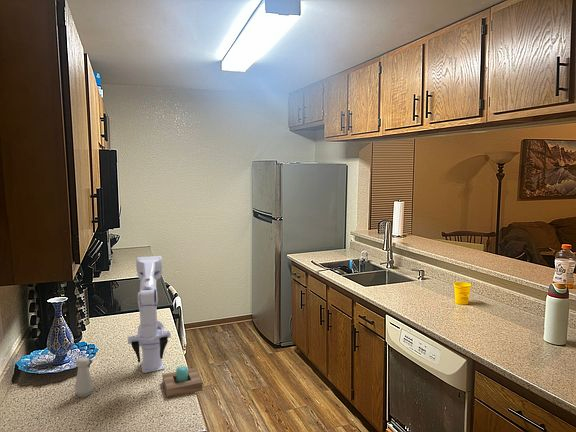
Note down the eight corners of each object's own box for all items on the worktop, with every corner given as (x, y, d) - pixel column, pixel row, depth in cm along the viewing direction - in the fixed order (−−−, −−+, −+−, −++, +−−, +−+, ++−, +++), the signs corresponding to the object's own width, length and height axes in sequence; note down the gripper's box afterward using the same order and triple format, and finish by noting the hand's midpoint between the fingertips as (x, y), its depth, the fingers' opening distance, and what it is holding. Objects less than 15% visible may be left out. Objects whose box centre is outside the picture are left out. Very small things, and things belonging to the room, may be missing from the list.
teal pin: (175, 383, 159) (175, 367, 159) (187, 381, 161) (186, 365, 160) (177, 388, 156) (177, 371, 155) (188, 386, 157) (188, 370, 157)
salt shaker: (88, 388, 157) (86, 353, 156) (96, 393, 153) (94, 357, 152) (72, 395, 153) (70, 359, 151) (80, 400, 149) (77, 363, 147)
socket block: (162, 382, 161) (162, 374, 161) (195, 375, 166) (195, 368, 166) (167, 397, 150) (167, 389, 150) (202, 390, 155) (202, 382, 155)
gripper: (127, 329, 151) (129, 367, 152) (171, 323, 157) (172, 360, 158) (126, 323, 157) (128, 359, 159) (168, 317, 163) (169, 352, 164)
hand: (150, 359), depth 159 cm, fingers open, 7 cm apart
